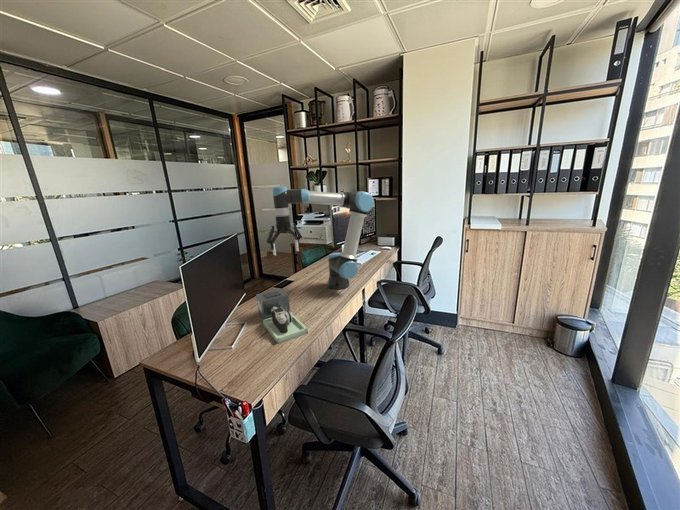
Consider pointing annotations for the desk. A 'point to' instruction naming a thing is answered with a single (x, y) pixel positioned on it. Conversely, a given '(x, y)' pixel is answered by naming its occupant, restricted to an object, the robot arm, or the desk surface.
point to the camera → (281, 319)
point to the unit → (272, 302)
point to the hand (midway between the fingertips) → (286, 252)
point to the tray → (293, 330)
